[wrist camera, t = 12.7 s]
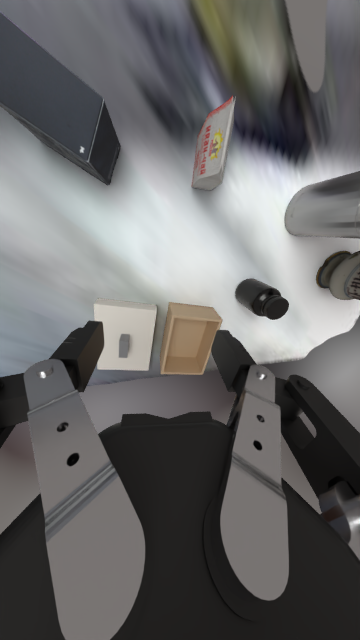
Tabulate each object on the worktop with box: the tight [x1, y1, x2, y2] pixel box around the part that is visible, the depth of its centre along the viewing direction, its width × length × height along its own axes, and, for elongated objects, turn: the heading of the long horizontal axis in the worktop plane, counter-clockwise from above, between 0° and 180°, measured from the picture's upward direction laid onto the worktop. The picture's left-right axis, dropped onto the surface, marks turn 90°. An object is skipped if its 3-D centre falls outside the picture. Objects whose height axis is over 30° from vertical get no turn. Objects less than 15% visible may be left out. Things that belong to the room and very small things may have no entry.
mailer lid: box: [94, 298, 157, 371], centre depth 41 cm, size 14×20×6 cm
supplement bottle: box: [236, 279, 289, 320], centre depth 37 cm, size 7×7×12 cm
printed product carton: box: [192, 96, 236, 191], centre depth 24 cm, size 4×7×10 cm, turn 173°
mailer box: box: [160, 302, 222, 375], centre depth 43 cm, size 12×18×7 cm, turn 169°
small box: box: [0, 11, 120, 185], centre depth 20 cm, size 11×6×10 cm, turn 60°
